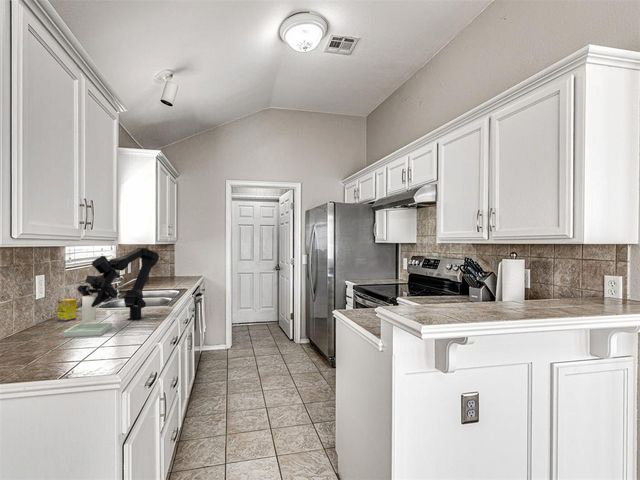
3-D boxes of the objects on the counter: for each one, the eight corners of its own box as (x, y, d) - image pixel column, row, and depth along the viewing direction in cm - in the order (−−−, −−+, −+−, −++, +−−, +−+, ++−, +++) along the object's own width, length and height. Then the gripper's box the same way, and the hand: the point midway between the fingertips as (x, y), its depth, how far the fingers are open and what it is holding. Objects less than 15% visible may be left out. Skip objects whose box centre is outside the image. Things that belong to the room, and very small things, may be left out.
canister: (81, 319, 167) (81, 296, 167) (94, 317, 171) (95, 294, 171) (83, 321, 163) (83, 297, 163) (97, 320, 167) (97, 296, 167)
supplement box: (57, 320, 189) (57, 299, 189) (68, 318, 194) (68, 298, 194) (65, 321, 187) (65, 300, 187) (76, 319, 193) (76, 298, 193)
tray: (77, 329, 173) (77, 323, 173) (112, 327, 176) (112, 322, 176) (62, 337, 158) (63, 331, 158) (100, 336, 161) (100, 330, 161)
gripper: (80, 268, 173) (59, 294, 162) (113, 269, 169) (93, 297, 158) (94, 282, 181) (74, 308, 170) (125, 284, 176) (107, 311, 166)
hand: (86, 306), depth 166 cm, fingers closed on canister, 5 cm apart
